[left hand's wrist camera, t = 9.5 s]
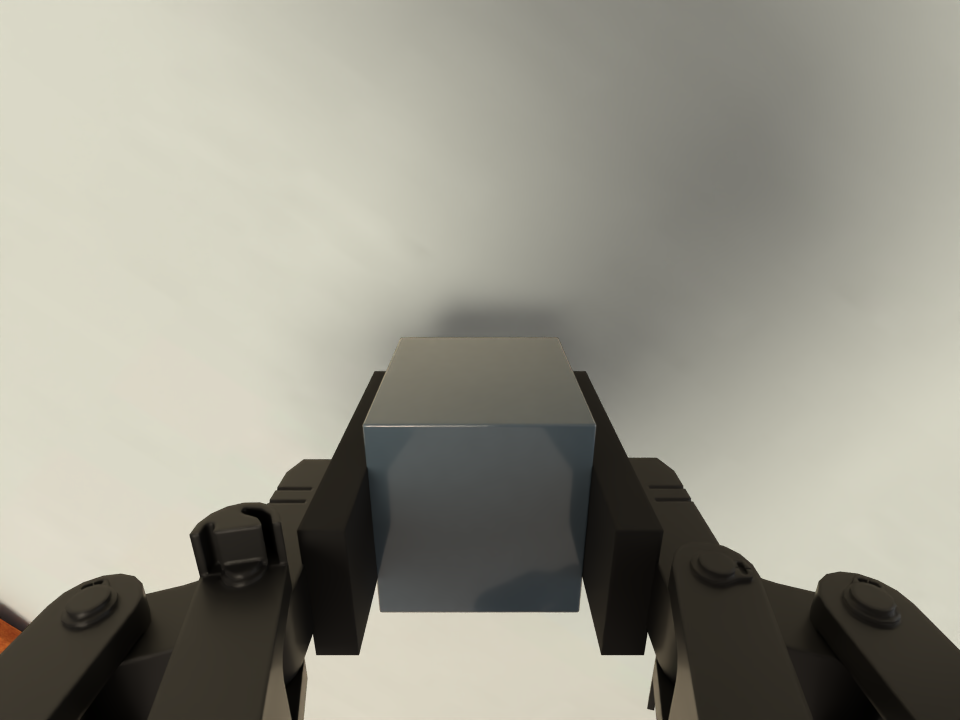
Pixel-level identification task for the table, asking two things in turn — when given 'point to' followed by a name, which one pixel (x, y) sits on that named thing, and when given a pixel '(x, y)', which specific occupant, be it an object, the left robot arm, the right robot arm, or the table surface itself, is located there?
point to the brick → (479, 476)
